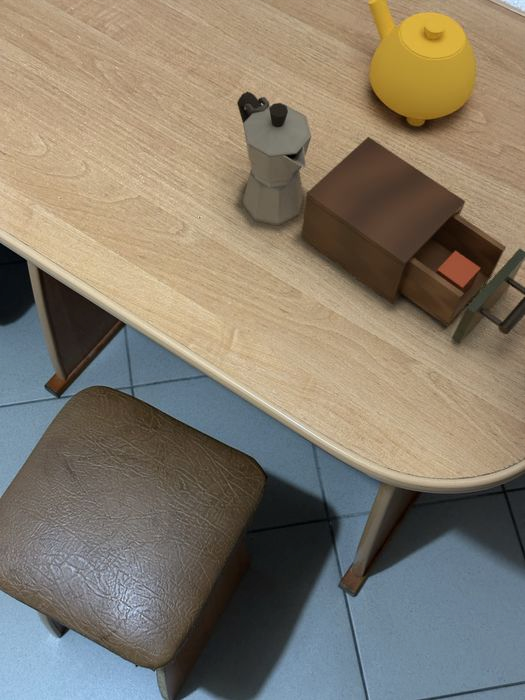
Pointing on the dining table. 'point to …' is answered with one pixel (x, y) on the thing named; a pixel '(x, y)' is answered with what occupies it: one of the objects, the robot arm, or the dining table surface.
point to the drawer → (450, 300)
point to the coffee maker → (273, 158)
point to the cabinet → (376, 215)
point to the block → (459, 271)
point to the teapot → (421, 64)
